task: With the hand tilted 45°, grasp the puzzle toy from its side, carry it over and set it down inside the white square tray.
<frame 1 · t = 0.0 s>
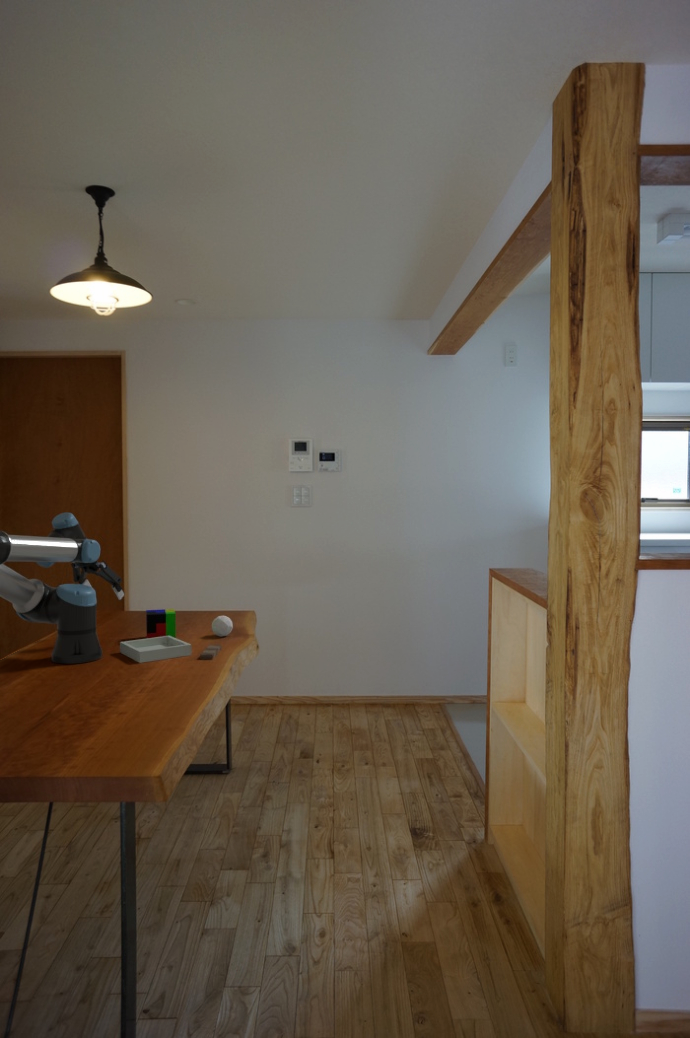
hand: (106, 596, 246), 15 cm above the table, tool tilted 35°, fingers open, 13 cm apart
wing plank: (211, 655, 222), on the table
puzzle toy: (160, 639, 245), on the table
white square tray: (155, 653, 222), on the table
geometric ball: (222, 636, 251), on the table
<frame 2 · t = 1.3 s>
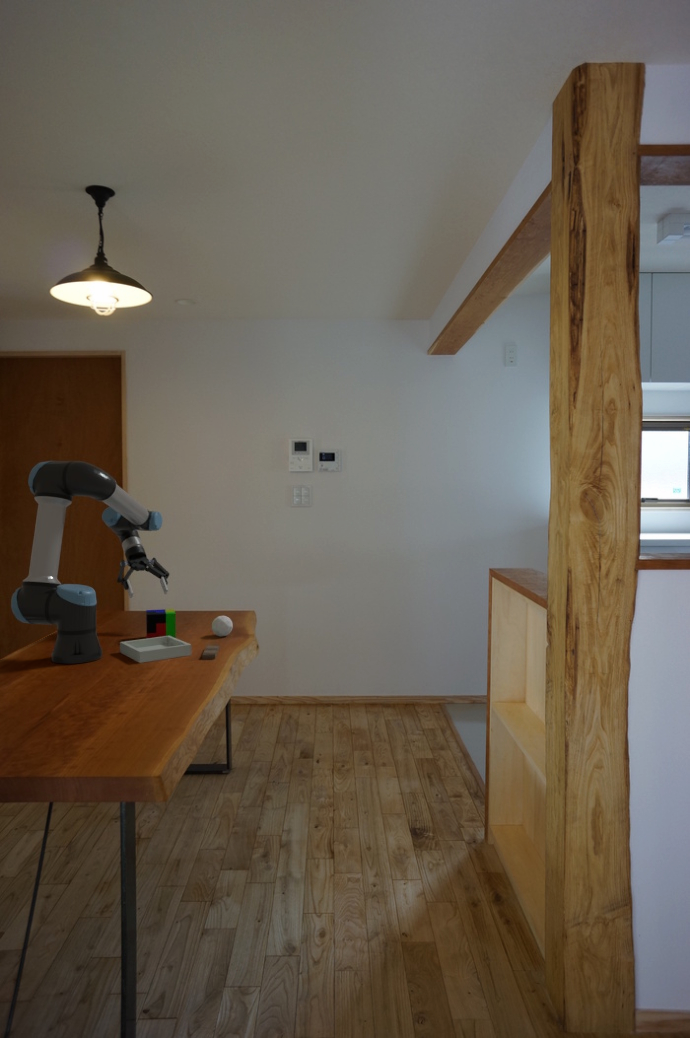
hand: (149, 593, 253), 15 cm above the table, tool tilted 45°, fingers open, 13 cm apart
nothing on the table moved.
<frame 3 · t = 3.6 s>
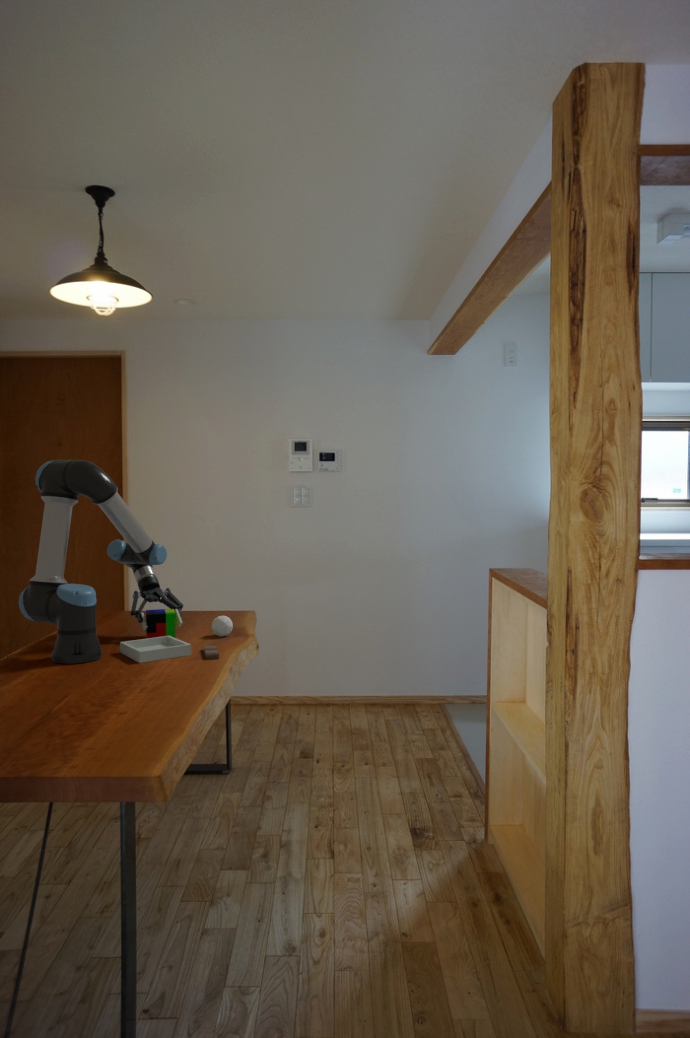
hand: (163, 627, 243), 5 cm above the table, tool tilted 45°, fingers closed on puzzle toy, 12 cm apart
puzzle toy: (160, 639, 245), on the table, touching gripper
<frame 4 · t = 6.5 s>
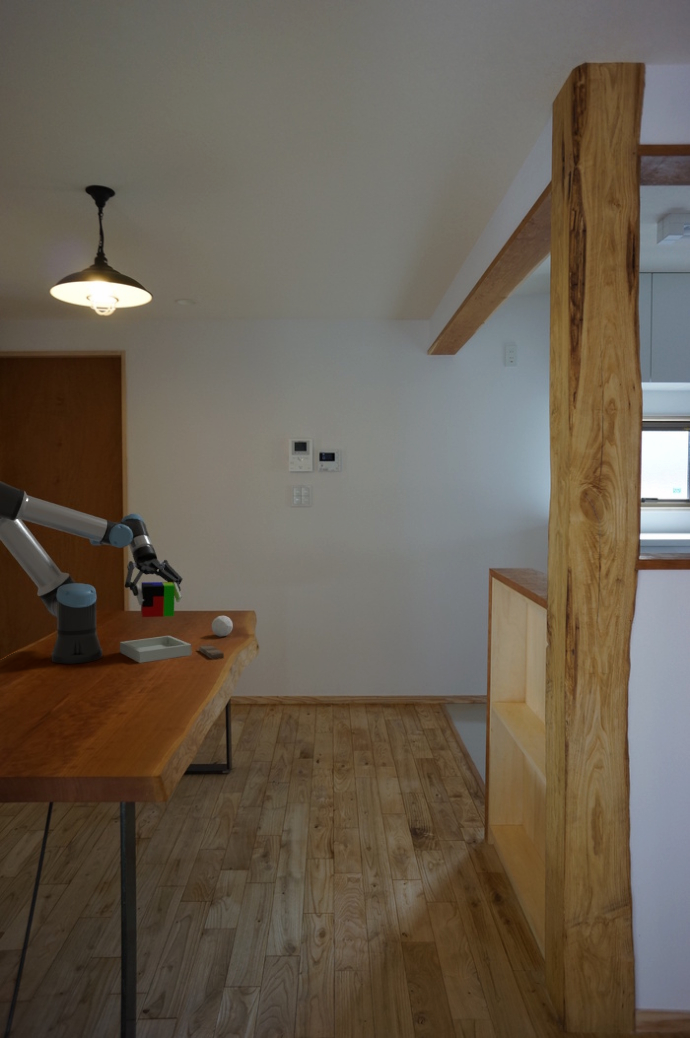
hand: (161, 601, 222), 17 cm above the table, tool tilted 45°, fingers closed on puzzle toy, 12 cm apart
puzzle toy: (157, 614, 223), point 13 cm above the table, touching gripper
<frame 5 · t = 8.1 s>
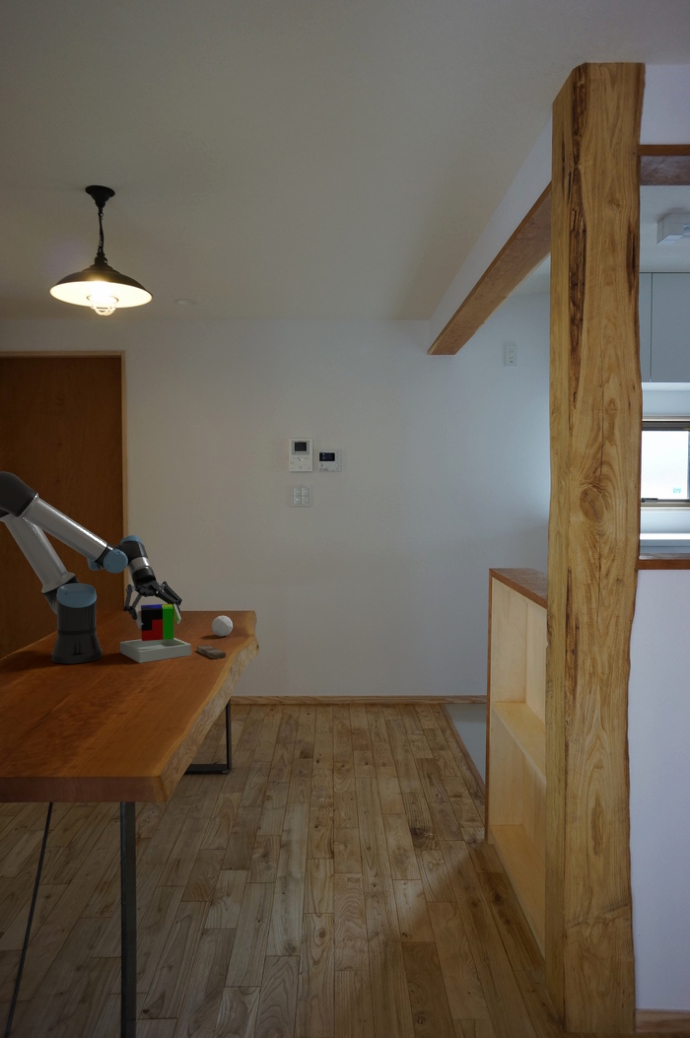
hand: (160, 624, 220), 10 cm above the table, tool tilted 45°, fingers closed on puzzle toy, 12 cm apart
puzzle toy: (157, 637, 222), point 5 cm above the table, touching gripper
when the fingers open (7 cm above the table, at t = 9.4 s): puzzle toy drops 2 cm, resting on white square tray.
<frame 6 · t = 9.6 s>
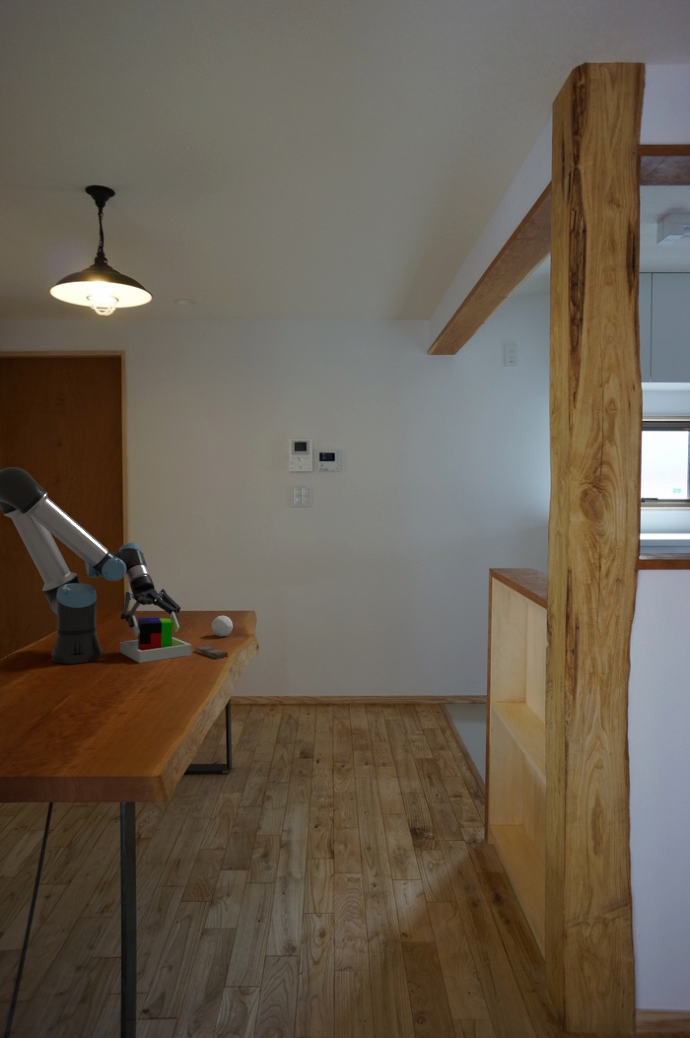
hand: (158, 632, 220), 8 cm above the table, tool tilted 45°, fingers open, 13 cm apart
puzzle toy: (154, 651, 221), point 1 cm above the table, touching white square tray, gripper
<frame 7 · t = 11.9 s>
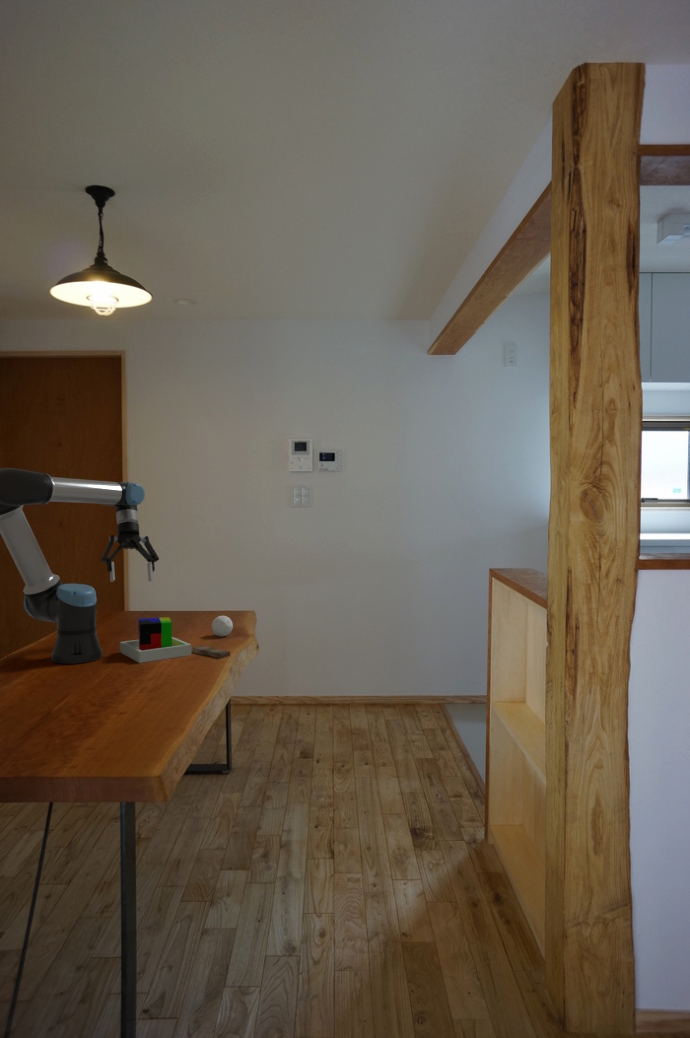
hand: (132, 580, 237), 22 cm above the table, tool tilted 20°, fingers open, 13 cm apart
puzzle toy: (155, 651, 222), point 1 cm above the table, touching white square tray
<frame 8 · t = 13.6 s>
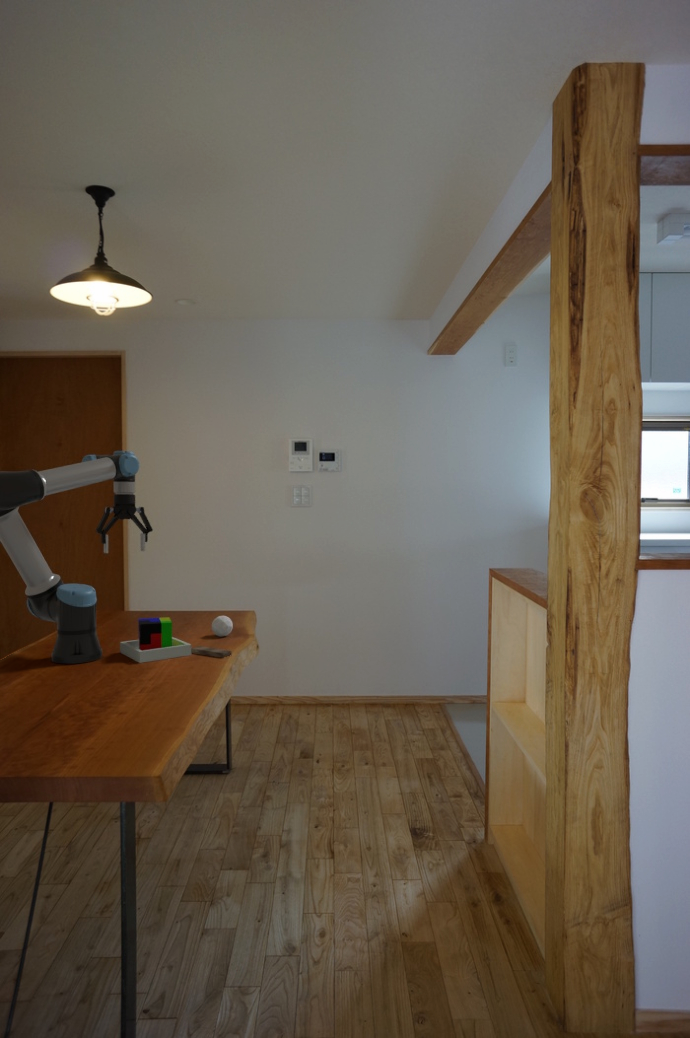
hand: (124, 552, 244), 32 cm above the table, tool pointing down, fingers open, 13 cm apart
at the end: puzzle toy 0.3 cm from the white square tray (horizontally); puzzle toy point 0.8 cm above the table; the gripper is holding nothing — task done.
